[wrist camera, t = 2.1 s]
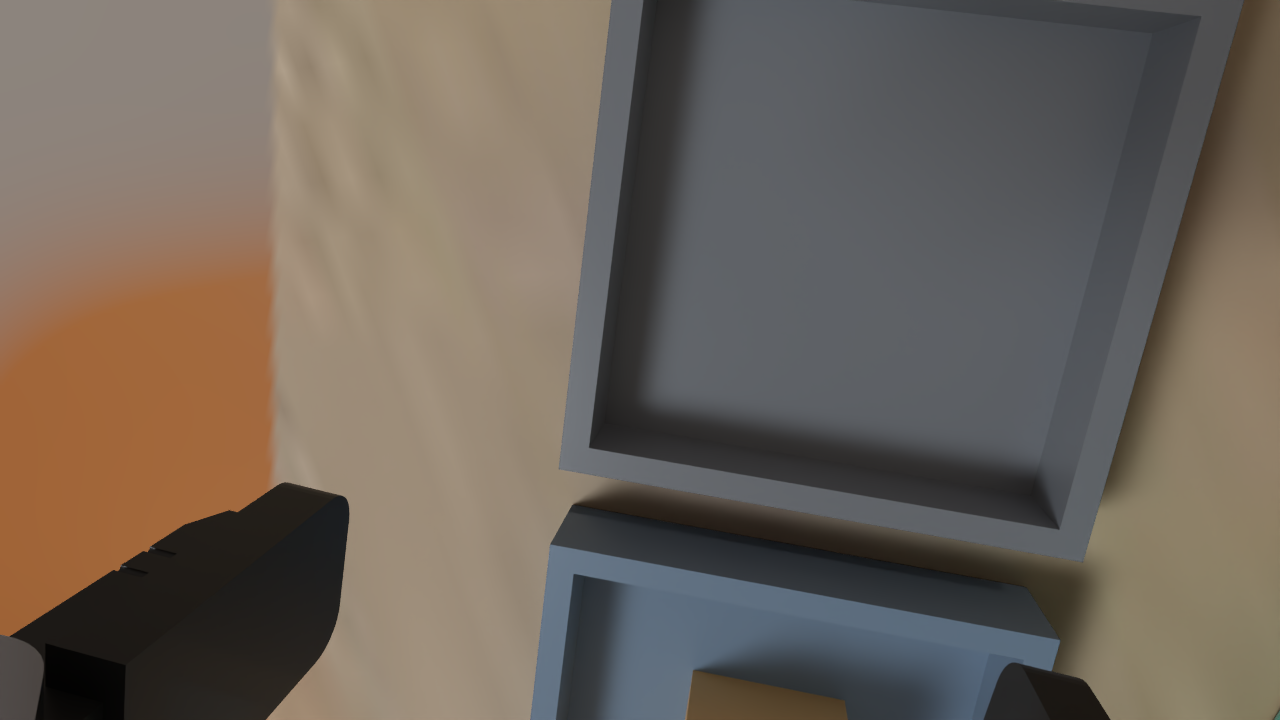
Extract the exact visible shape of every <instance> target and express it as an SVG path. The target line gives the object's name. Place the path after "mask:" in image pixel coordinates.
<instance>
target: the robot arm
mask: <svg viewBox="0 0 1280 720" xmlns="http://www.w3.org/2000/svg"><path fill="white" fill-rule="evenodd" d="M348 524H349V505H348V502H347V499H346V498H345V497H343V496H341V495H337V494H332V493H328V492H324V491H320V490H316V489H312V488H308V487H304V486H300V485H296V484H292V483H286V482H285V483H281V484H279V485H277V486H276V487H274V488H273V489H271V490H270V491H268V492H267V493H265V494H264V495H263V496H261V497H260V498H258V499H257V500H256V501H254V502H252V503H251V504H249V505H248V506H247V507H245V508H243V509H242V510H240V511H239V512H234V511H230V510H229V511H226V512H223V513H219V514H216V515H213V516H210V517H207V518H204V519H201V520H198V521H195V522H191V523H188V524H185V525H183V526H182V527H180V528H179V529H177V530H176V531H174V532H172V533H171V534H169V535H168V536H166V537H165V538H163V539H161V540H160V541H158V542H157V543H155V544H154V545H152V546H150V550H149V551H148V552H145V551H143V552H141V553H140V554H138V555H136V556H135V557H133V558H132V559H130V560H129V561H127V562H126V563H124V564H122V565H121V567H120V570H119V571H115V570H113V571H111V572H110V573H108V574H107V575H105V576H104V577H102V578H100V579H99V580H97V581H96V582H94V583H92V584H91V585H89V586H88V587H87V588H85V589H83V590H81V591H80V592H78V593H77V594H75V595H74V596H72V597H71V598H69V599H67V600H66V601H64V602H63V603H61V604H60V605H58V606H56V607H55V608H53V609H52V610H50V611H49V612H47V613H45V614H44V615H42V616H41V617H39V618H38V619H36V620H35V621H33V622H32V623H30V624H28V625H27V626H25V627H24V628H22V629H20V630H19V631H17V632H16V633H14V634H13V635H11V636H9V637H8V636H4V635H0V720H266V719H267V718H268V716H269V715H270V714H271V713H272V712H273V711H274V710H275V708H276V707H277V706H278V705H279V704H280V703H281V702H282V700H283V699H284V698H285V697H286V696H287V695H288V694H289V692H290V691H291V690H292V689H293V688H294V687H295V686H296V684H297V683H298V682H299V681H300V680H301V679H302V678H303V676H304V675H305V674H306V673H307V672H308V671H309V670H310V668H311V667H312V666H313V665H314V664H315V663H316V661H317V660H318V659H319V658H320V656H321V655H322V653H323V651H324V650H325V648H326V646H327V644H328V642H329V640H330V638H331V635H332V633H333V630H334V627H335V624H336V621H337V617H338V613H339V606H340V598H341V588H342V579H343V570H344V561H345V552H346V542H347V533H348ZM983 720H1110V718H1109V717H1108V715H1107V714H1106V712H1105V710H1104V709H1103V707H1102V706H1101V704H1100V703H1099V701H1098V699H1097V698H1096V696H1095V695H1094V693H1093V692H1092V690H1091V688H1090V687H1089V686H1088V684H1087V683H1086V682H1085V681H1084V680H1082V679H1080V678H1077V677H1072V676H1068V675H1064V674H1060V673H1056V672H1052V671H1048V670H1044V669H1040V668H1036V667H1032V666H1028V665H1024V664H1019V663H1010V664H1008V665H1007V666H1006V667H1005V668H1004V669H1003V670H1002V672H1001V674H1000V676H999V678H998V680H997V683H996V686H995V689H994V691H993V694H992V697H991V700H990V703H989V705H988V708H987V711H986V714H985V717H984V719H983Z"/></svg>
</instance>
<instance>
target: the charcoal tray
mask: <svg viewBox="0 0 1280 720" xmlns="http://www.w3.org/2000/svg"><path fill="white" fill-rule="evenodd" d="M1243 3H1244V0H612V3H611V11H610V20H609V29H608V38H607V47H606V56H605V65H604V73H603V82H602V91H601V100H600V109H599V118H598V127H597V135H596V144H595V153H594V162H593V171H592V180H591V188H590V197H589V206H588V215H587V224H586V233H585V242H584V250H583V259H582V268H581V277H580V286H579V295H578V303H577V312H576V321H575V330H574V339H573V348H572V357H571V365H570V374H569V383H568V392H567V401H566V410H565V419H564V427H563V436H562V445H561V454H560V463H559V469H561V470H566V471H572V472H578V473H583V474H589V475H594V476H600V477H606V478H611V479H617V480H623V481H628V482H634V483H640V484H645V485H651V486H656V487H662V488H668V489H673V490H679V491H685V492H690V493H696V494H701V495H707V496H713V497H718V498H724V499H730V500H735V501H741V502H747V503H752V504H758V505H763V506H769V507H775V508H780V509H786V510H792V511H797V512H803V513H808V514H814V515H820V516H825V517H831V518H837V519H842V520H848V521H854V522H859V523H865V524H870V525H876V526H882V527H887V528H893V529H899V530H904V531H910V532H916V533H921V534H927V535H932V536H938V537H944V538H949V539H955V540H961V541H966V542H972V543H977V544H983V545H989V546H994V547H1000V548H1006V549H1011V550H1017V551H1023V552H1028V553H1034V554H1039V555H1045V556H1051V557H1056V558H1062V559H1068V560H1073V561H1079V562H1083V560H1084V557H1085V553H1086V550H1087V546H1088V543H1089V539H1090V536H1091V532H1092V529H1093V525H1094V522H1095V518H1096V515H1097V511H1098V508H1099V504H1100V501H1101V497H1102V494H1103V490H1104V487H1105V483H1106V480H1107V476H1108V473H1109V469H1110V466H1111V462H1112V459H1113V456H1114V452H1115V449H1116V445H1117V442H1118V438H1119V435H1120V431H1121V428H1122V424H1123V421H1124V417H1125V414H1126V410H1127V407H1128V403H1129V400H1130V396H1131V393H1132V389H1133V386H1134V382H1135V379H1136V375H1137V372H1138V368H1139V365H1140V361H1141V358H1142V354H1143V351H1144V348H1145V344H1146V341H1147V337H1148V334H1149V330H1150V327H1151V323H1152V320H1153V316H1154V313H1155V309H1156V306H1157V302H1158V299H1159V295H1160V292H1161V288H1162V285H1163V281H1164V278H1165V274H1166V271H1167V267H1168V264H1169V260H1170V257H1171V253H1172V250H1173V246H1174V243H1175V239H1176V236H1177V233H1178V229H1179V226H1180V222H1181V219H1182V215H1183V212H1184V208H1185V205H1186V201H1187V198H1188V194H1189V191H1190V187H1191V184H1192V180H1193V177H1194V173H1195V170H1196V166H1197V163H1198V159H1199V156H1200V152H1201V149H1202V145H1203V142H1204V138H1205V135H1206V131H1207V128H1208V124H1209V121H1210V118H1211V114H1212V111H1213V107H1214V104H1215V100H1216V97H1217V93H1218V90H1219V86H1220V83H1221V79H1222V76H1223V72H1224V69H1225V65H1226V62H1227V58H1228V55H1229V51H1230V48H1231V44H1232V41H1233V37H1234V34H1235V30H1236V27H1237V23H1238V20H1239V16H1240V13H1241V9H1242V6H1243Z"/></svg>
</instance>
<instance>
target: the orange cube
mask: <svg viewBox="0 0 1280 720" xmlns="http://www.w3.org/2000/svg"><path fill="white" fill-rule="evenodd" d="M685 720H848V718H847V712H846V706H845V700H840V699H835V698H830V697H825V696H820V695H815V694H810V693H805V692H800V691H795V690H790V689H785V688H780V687H776V686H771V685H766V684H761V683H756V682H751V681H746V680H741V679H736V678H731V677H726V676H721V675H716V674H711V673H706V672H701V671H696V670H693V674H692V680H691V686H690V692H689V698H688V704H687V710H686V716H685Z"/></svg>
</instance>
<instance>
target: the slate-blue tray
mask: <svg viewBox="0 0 1280 720" xmlns="http://www.w3.org/2000/svg"><path fill="white" fill-rule="evenodd" d="M1059 644H1060V639H1059V637H1058V636H1057V634H1056V633H1055V631H1054V629H1053V628H1052V626H1051V625H1050V623H1049V622H1048V620H1047V619H1046V617H1045V616H1044V614H1043V612H1042V611H1041V609H1040V608H1039V606H1038V605H1037V603H1036V602H1035V600H1034V599H1033V597H1032V595H1031V594H1030V592H1029V591H1028V589H1027V588H1026V587H1022V586H1016V585H1011V584H1005V583H1000V582H994V581H989V580H984V579H978V578H973V577H967V576H962V575H956V574H951V573H945V572H940V571H934V570H929V569H923V568H918V567H912V566H907V565H901V564H896V563H890V562H885V561H879V560H874V559H868V558H863V557H857V556H852V555H846V554H841V553H835V552H830V551H824V550H819V549H813V548H808V547H802V546H797V545H791V544H786V543H780V542H775V541H769V540H764V539H758V538H753V537H747V536H742V535H736V534H731V533H725V532H720V531H714V530H709V529H703V528H698V527H692V526H687V525H681V524H676V523H670V522H665V521H659V520H654V519H648V518H643V517H637V516H632V515H626V514H621V513H615V512H610V511H604V510H599V509H593V508H588V507H582V506H577V505H572V507H571V508H570V510H569V512H568V514H567V516H566V517H565V519H564V521H563V523H562V524H561V526H560V528H559V530H558V532H557V533H556V535H555V537H554V539H553V540H552V542H551V544H550V551H549V560H548V569H547V578H546V587H545V596H544V604H543V613H542V622H541V631H540V640H539V649H538V657H537V666H536V675H535V684H534V693H533V702H532V711H531V719H530V720H685V716H686V710H687V704H688V698H689V692H690V686H691V680H692V674H693V670H696V671H701V672H706V673H711V674H716V675H721V676H726V677H731V678H736V679H741V680H746V681H751V682H756V683H761V684H766V685H771V686H776V687H780V688H785V689H790V690H795V691H800V692H805V693H810V694H815V695H820V696H825V697H830V698H835V699H840V700H845V706H846V712H847V718H848V720H983V719H984V717H985V714H986V711H987V708H988V705H989V703H990V700H991V697H992V694H993V691H994V689H995V686H996V683H997V680H998V678H999V676H1000V674H1001V672H1002V670H1003V669H1004V668H1005V667H1006V666H1007V665H1008V664H1010V663H1019V664H1024V665H1028V666H1032V667H1036V668H1040V669H1044V670H1048V671H1052V668H1053V665H1054V661H1055V658H1056V654H1057V651H1058V647H1059Z"/></svg>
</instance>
